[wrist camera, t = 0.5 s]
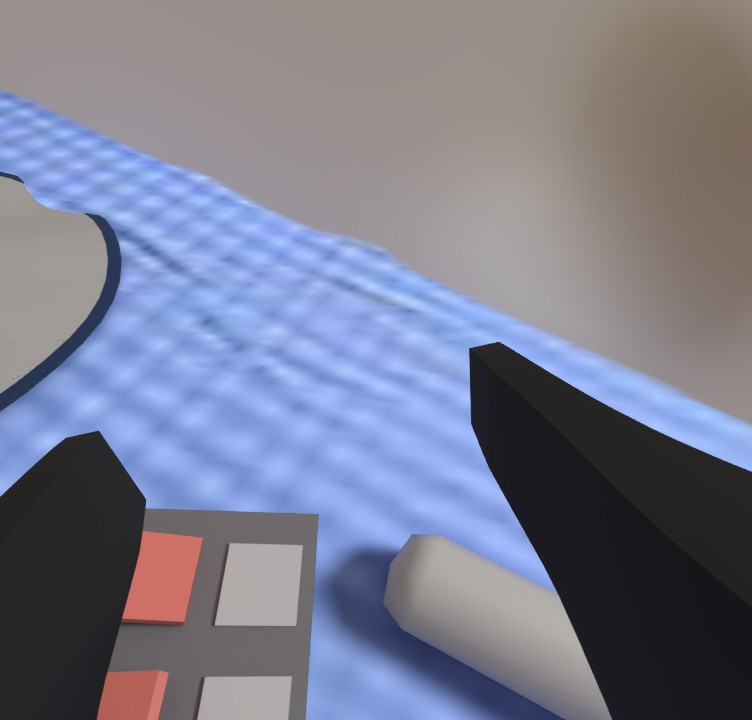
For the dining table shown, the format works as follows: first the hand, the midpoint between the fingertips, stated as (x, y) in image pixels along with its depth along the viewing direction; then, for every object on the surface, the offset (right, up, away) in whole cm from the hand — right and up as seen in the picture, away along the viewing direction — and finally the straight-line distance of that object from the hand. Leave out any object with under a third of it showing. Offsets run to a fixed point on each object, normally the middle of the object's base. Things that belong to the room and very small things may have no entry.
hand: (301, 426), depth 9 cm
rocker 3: (-10, -8, +11) cm, 17 cm away
